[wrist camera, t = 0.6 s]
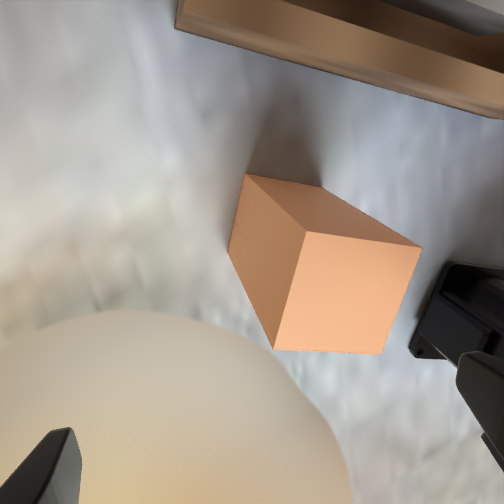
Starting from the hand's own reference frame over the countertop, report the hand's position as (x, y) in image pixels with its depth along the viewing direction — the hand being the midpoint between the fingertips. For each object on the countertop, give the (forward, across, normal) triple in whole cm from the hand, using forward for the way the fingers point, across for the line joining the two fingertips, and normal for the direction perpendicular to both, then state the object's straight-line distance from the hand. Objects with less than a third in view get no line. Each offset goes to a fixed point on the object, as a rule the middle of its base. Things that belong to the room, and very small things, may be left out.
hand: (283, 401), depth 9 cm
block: (+11, -3, 0) cm, 12 cm away
